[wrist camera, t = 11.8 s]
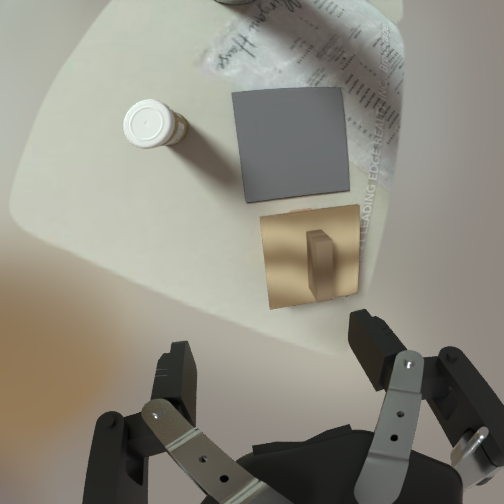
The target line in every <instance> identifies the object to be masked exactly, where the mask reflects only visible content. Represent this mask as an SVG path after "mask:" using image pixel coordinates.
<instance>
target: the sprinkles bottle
mask: <svg viewBox="0 0 504 504" xmlns="http://www.w3.org/2000/svg"><path fill="white" fill-rule="evenodd" d="M123 128H124V134H125V136H126V138H127V139H128V141H129V142H130V143H131V144H133V145H134V146H136V147H139V148H144V149H148V148H155V147H158V146H164V145H173V144H176V143H178V142H180V141H181V140H182V139H183V138H184V136H185V134H186V131H187V123H186V120H185V119H184V117H183V116H182V115H180V114H179V113H176V112H175V111H173V110H171V109H170V108H169V107H168V106H167V105H165V104H164V103H162V102H160V101H157V100H153V99H147V100H143V101H140V102H138V103H136V104H135V105H133V106H132V107H131V108H130V109H129V111H128V112H127V114H126V116H125V119H124V124H123Z"/></svg>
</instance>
